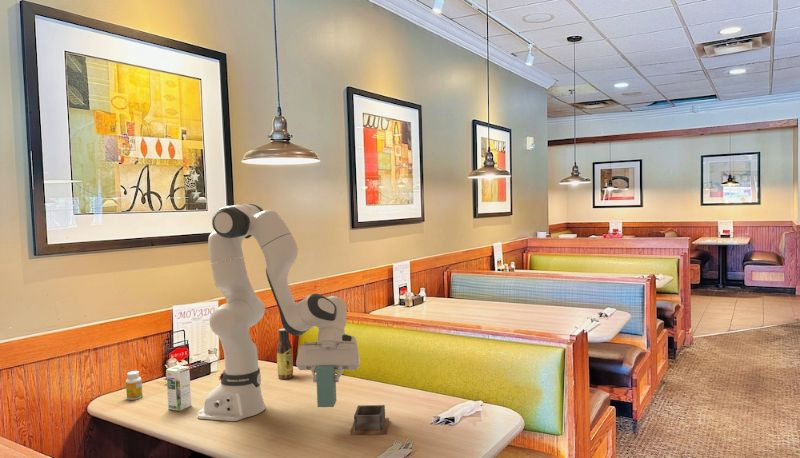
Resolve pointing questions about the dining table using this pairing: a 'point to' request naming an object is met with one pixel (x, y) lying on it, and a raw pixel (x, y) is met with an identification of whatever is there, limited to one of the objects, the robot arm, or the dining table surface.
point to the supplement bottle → (133, 385)
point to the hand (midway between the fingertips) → (325, 381)
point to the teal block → (326, 386)
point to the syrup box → (178, 388)
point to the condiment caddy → (370, 420)
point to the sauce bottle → (284, 356)
